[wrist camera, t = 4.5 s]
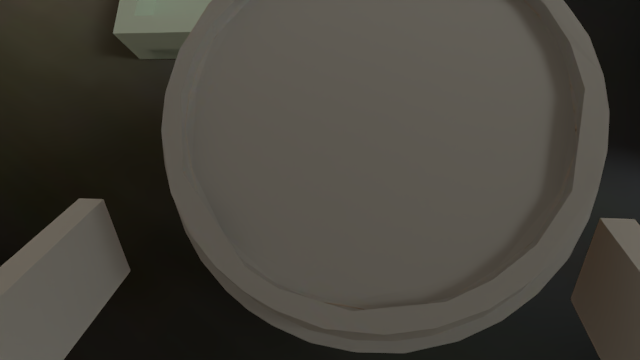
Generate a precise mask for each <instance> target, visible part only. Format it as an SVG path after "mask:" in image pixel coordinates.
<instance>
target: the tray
mask: <svg viewBox="0 0 640 360" xmlns="http://www.w3.org/2000/svg"><path fill="white" fill-rule="evenodd" d="M211 1H212V0H120V2H119V6H118V11H117V16H116V21H115V25H114V30H113V34H114V35H115V36H116V37H117V38H118V39H119V40H120V41H121V42H122V43H123V44H124V45H125V46H127V47H128V48H129V49H130V50H131V51H132V52H133V53H134V54H135V55H136V56H137V57H138V58H139V59H176V58H177V55H178V52H179V49H180V48H181V46H182V45H183V43H184V42H185V40H186V39H187V37H188V35H189V34H190V32H191V31H192V29H193V28H194V26H195V24H196V23H197V21H198V20H199V18H200V17H201V15H202V13H203V12H204V10H205V9H206V7H207V6H208V4H209V3H210V2H211Z"/></svg>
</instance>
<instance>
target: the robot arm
mask: <svg viewBox="0 0 640 360" xmlns="http://www.w3.org/2000/svg"><path fill="white" fill-rule="evenodd" d="M130 271H131V270H130V268H129V265H128V263H127V260H126V257H125V255H124V252H123V249H122V247H121V244H120V242H119V239H118V236H117V234H116V231H115V228H114V226H113V223H112V220H111V218H110V215H109V213H108V210H107V207H106V205H105V202H104V199H84V198H79V199H78V200H77V201H76V202H75V203H73V204H72V205H71V206H70V207H69V208H68V209H66V210H65V211H64V212H63V213H62V214H61V215H60V216H58V217H57V218H56V219H55V220H54V221H53V222H51V223H50V224H49V225H48V226H47V227H46V228H45V229H43V230H42V231H41V232H40V233H39V234H38V235H36V236H35V237H34V238H33V239H32V240H31V241H30V242H28V243H27V244H26V245H25V246H24V247H23V248H21V249H20V250H19V251H18V252H17V253H16V254H15V255H13V256H12V257H11V258H10V259H9V260H8V261H6V262H5V263H4V264H3V265H2V266H1V267H0V360H64V358H65V357H66V356H67V355H68V353H69V352H70V351H71V349H72V348H73V347H74V345H75V344H76V343H77V341H78V340H79V339H80V337H81V336H82V335H83V333H84V332H85V331H86V329H87V328H88V327H89V325H90V324H91V323H92V321H93V320H94V319H95V317H96V316H97V315H98V313H99V312H100V311H101V310H102V308H103V307H104V306H105V304H106V303H107V302H108V300H109V299H110V298H111V296H112V295H113V294H114V292H115V291H116V290H117V288H118V287H119V286H120V284H121V283H122V282H123V280H124V279H125V278H126V276H127V275H128V274H129V272H130ZM570 300H571V302H572V304H573V306H574V308H575V310H576V312H577V314H578V316H579V318H580V320H581V322H582V324H583V326H584V328H585V330H586V332H587V334H588V336H589V338H590V340H591V342H592V344H593V346H594V348H595V350H596V352H597V354H598V356H599V358H600V360H640V225H639V224H638V222H637V221H636V220H635V219H616V218H600V219H599V222H598V224H597V227H596V230H595V233H594V235H593V238H592V241H591V244H590V246H589V249H588V252H587V255H586V257H585V260H584V263H583V266H582V268H581V271H580V274H579V277H578V279H577V282H576V285H575V288H574V290H573V293H572V296H571V299H570Z"/></svg>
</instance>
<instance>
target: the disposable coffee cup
mask: <svg viewBox="0 0 640 360" xmlns="http://www.w3.org/2000/svg"><path fill="white" fill-rule="evenodd" d="M609 113H610V112H609V105H608V99H607V93H606V86H605V80H604V75H603V72H602V69H601V67H600V64H599V61H598V58H597V56H596V53H595V50H594V48H593V45H592V42H591V39H590V37H589V35H588V34H587V32H586V31H585V29H584V28H583V26H582V25H581V24H580V22H579V21H578V19H577V18H576V16H575V15H574V14H573V12H572V11H571V9H570V8H569V7H568V5H567V4H566V3H565V2H564V0H212V1H211V2H210V3H209V4H208V6H207V7H206V9H205V10H204V12H203V13H202V15H201V17H200V18H199V20H198V21H197V23H196V24H195V26H194V28H193V29H192V31H191V32H190V34H189V35H188V37H187V39H186V40H185V42H184V43H183V45H182V46H181V48H180V49H179V52H178V55H177V58H176V61H175V65H174V68H173V71H172V74H171V77H170V80H169V83H168V86H167V89H166V92H165V100H164V109H163V118H162V127H161V134H162V144H163V154H164V163H165V169H166V173H167V178H168V182H169V187H170V192H171V195H172V197H173V199H174V201H175V204H176V207H177V210H178V213H179V215H180V218H181V221H182V224H183V227H184V230H185V232H186V234H187V236H188V238H189V239H190V241H191V243H192V245H193V247H194V249H195V250H196V252H197V254H198V256H199V258H200V260H201V261H202V262H203V263H204V265H205V266H206V267H207V268H208V270H209V271H210V272H211V273H212V274H213V276H214V277H215V278H216V279H217V280H218V282H219V283H220V284H221V285H222V287H223V288H224V289H225V290H226V291H227V292H228V293H229V294H230V295H232V296H233V297H234V298H235V299H236V300H237V301H238V302H239V303H241V304H242V305H243V306H244V307H245V308H246V309H248V310H249V311H251V312H252V313H254V314H255V315H257V316H258V317H260V318H262V319H263V320H265V321H266V322H268V323H269V324H271V325H272V326H274V327H277V328H279V329H281V330H283V331H285V332H288V333H290V334H292V335H294V336H296V337H299V338H301V339H303V340H305V341H307V342H310V343H314V344H319V345H323V346H328V347H333V348H337V349H342V350H347V351H351V352H364V353H408V352H413V351H417V350H422V349H426V348H431V347H435V346H440V345H444V344H449V343H453V342H458V341H460V340H462V339H464V338H466V337H469V336H471V335H473V334H475V333H477V332H479V331H481V330H484V329H486V328H488V327H490V326H492V325H494V324H496V323H498V322H501V321H502V320H504V319H505V318H506V317H508V316H509V315H510V314H512V313H513V312H514V311H516V310H517V309H518V308H520V307H521V306H522V305H524V304H525V303H526V302H528V301H529V300H530V299H531V298H533V297H534V296H535V295H537V294H538V293H539V292H540V290H541V289H542V288H543V287H544V286H545V285H546V284H547V283H548V281H549V280H550V279H551V278H552V277H553V276H554V275H555V273H556V272H557V271H558V270H559V269H560V268H561V267H562V266H563V264H564V263H565V262H566V261H567V260H568V259H569V257H570V255H571V253H572V251H573V249H574V247H575V245H576V243H577V241H578V239H579V237H580V236H581V234H582V232H583V230H584V228H585V226H586V224H587V222H588V220H589V218H590V215H591V211H592V208H593V205H594V202H595V198H596V195H597V192H598V189H599V184H600V181H601V176H602V172H603V168H604V163H605V159H606V155H607V150H608V133H609Z"/></svg>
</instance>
